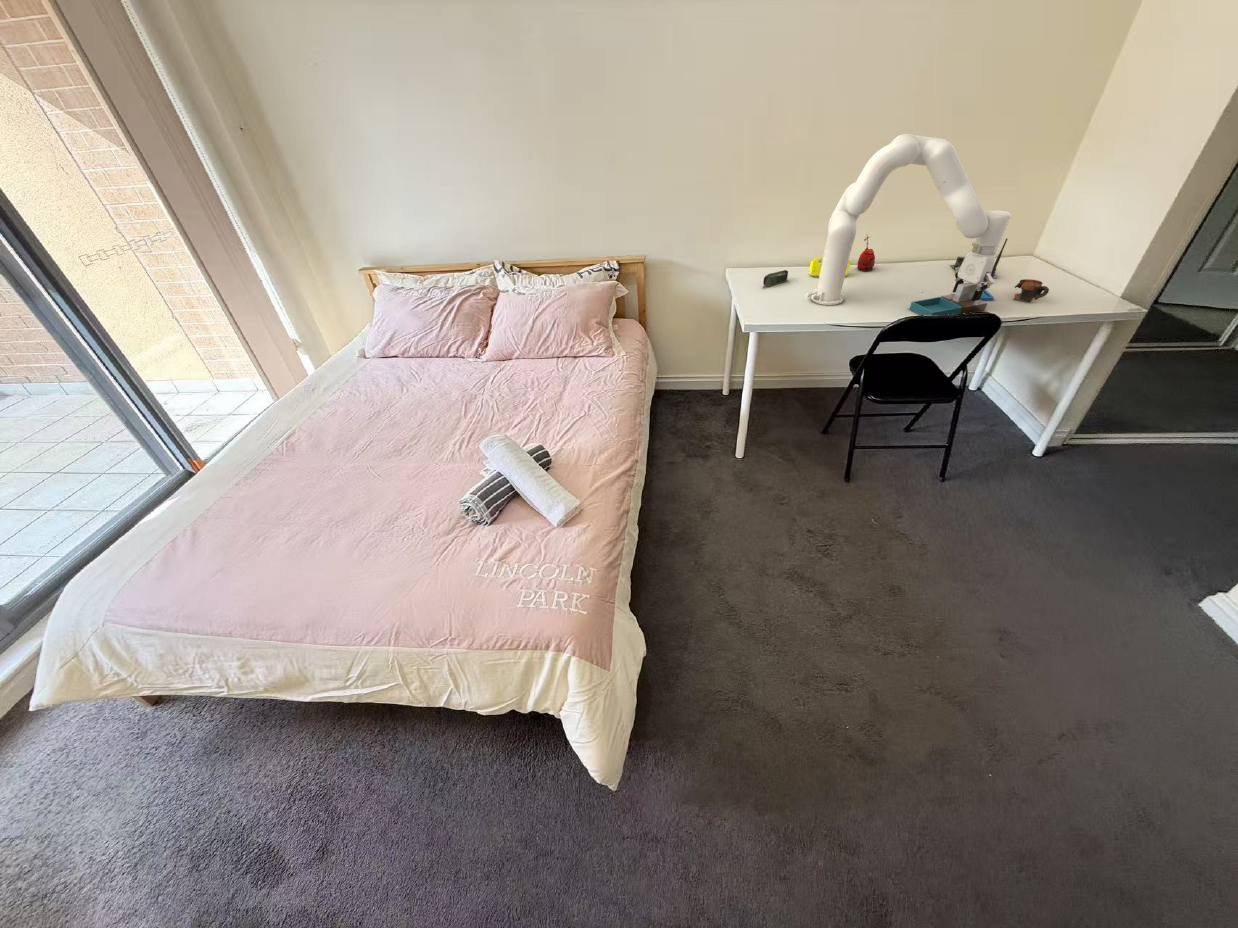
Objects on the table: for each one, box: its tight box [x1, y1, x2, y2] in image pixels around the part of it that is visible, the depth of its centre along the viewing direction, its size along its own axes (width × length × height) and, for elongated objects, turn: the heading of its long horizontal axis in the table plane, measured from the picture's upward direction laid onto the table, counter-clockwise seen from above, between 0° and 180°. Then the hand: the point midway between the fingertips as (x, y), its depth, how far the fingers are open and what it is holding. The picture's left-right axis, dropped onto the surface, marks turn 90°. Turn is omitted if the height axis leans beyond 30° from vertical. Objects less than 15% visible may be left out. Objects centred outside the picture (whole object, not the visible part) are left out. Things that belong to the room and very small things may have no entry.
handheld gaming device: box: [980, 286, 995, 301], centre depth 200 cm, size 8×1×15 cm
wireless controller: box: [950, 238, 1008, 279], centre depth 211 cm, size 20×14×17 cm
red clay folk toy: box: [856, 234, 876, 273], centre depth 222 cm, size 8×7×15 cm
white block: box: [953, 282, 982, 302], centre depth 187 cm, size 8×3×6 cm, turn 105°
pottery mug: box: [1013, 278, 1050, 303], centre depth 192 cm, size 12×10×8 cm
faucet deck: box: [940, 292, 988, 315], centre depth 190 cm, size 13×13×3 cm
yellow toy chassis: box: [808, 257, 852, 278], centre depth 221 cm, size 16×6×8 cm, turn 83°
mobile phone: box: [762, 269, 789, 289], centre depth 218 cm, size 5×3×15 cm
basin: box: [908, 296, 963, 316], centre depth 188 cm, size 13×11×3 cm
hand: (965, 296), depth 188 cm, fingers open, 8 cm apart
